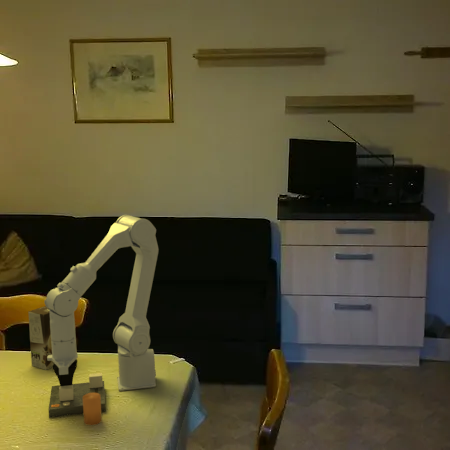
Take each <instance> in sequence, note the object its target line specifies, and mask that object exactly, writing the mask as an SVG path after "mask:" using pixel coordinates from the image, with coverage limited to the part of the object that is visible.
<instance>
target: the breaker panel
mask: <svg viewBox="0 0 450 450" xmlns="http://www.w3.org/2000/svg"><path fill="white" fill-rule="evenodd" d="M102 381H103V387H98V388H90V384H89V381H87V382H80V383H79V382H78V383H72V385H73V392H74V400H68V401H60V397H59V386H60V384H59V385H51V390H50V396H49V402H48V403H49V404H48V409H47V410H48V418H49V419H50V418H57V417H65V416H67V417H68V416H77V415H84V413H83V396H84V395H85V394H88V393H99V394H100V397H101V413H102V412H103V413H104V412H106V409H107V408H106V407H107V406H106V392H105V391H106V390H105V380H102Z"/></svg>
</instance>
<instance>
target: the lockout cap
mask: <svg viewBox="0 0 450 450" xmlns="http://www.w3.org/2000/svg"><path fill="white" fill-rule="evenodd" d="M83 413H84V414H83V424H85V425H87V426H95V425H98V424H100V423H101V422H102V420H103V419H102V416H103V415H102V412H101V397H100V394H99V393H88V394H85V395H84V396H83Z"/></svg>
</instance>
